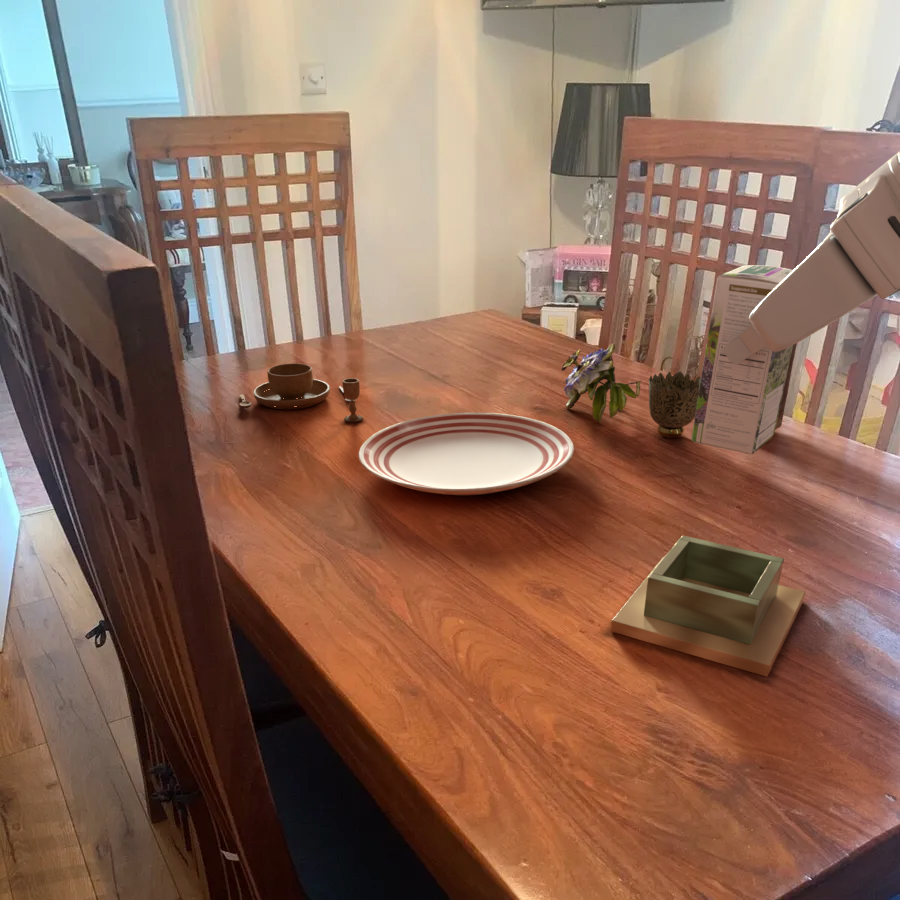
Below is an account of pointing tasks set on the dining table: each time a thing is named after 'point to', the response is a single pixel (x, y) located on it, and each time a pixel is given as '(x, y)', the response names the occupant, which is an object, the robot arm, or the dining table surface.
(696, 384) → the cup
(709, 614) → the socket pad
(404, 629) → the dining table surface
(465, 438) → the dinner plate
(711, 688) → the dining table surface
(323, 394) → the place setting
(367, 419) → the dining table surface
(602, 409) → the passion flower
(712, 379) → the syrup box
